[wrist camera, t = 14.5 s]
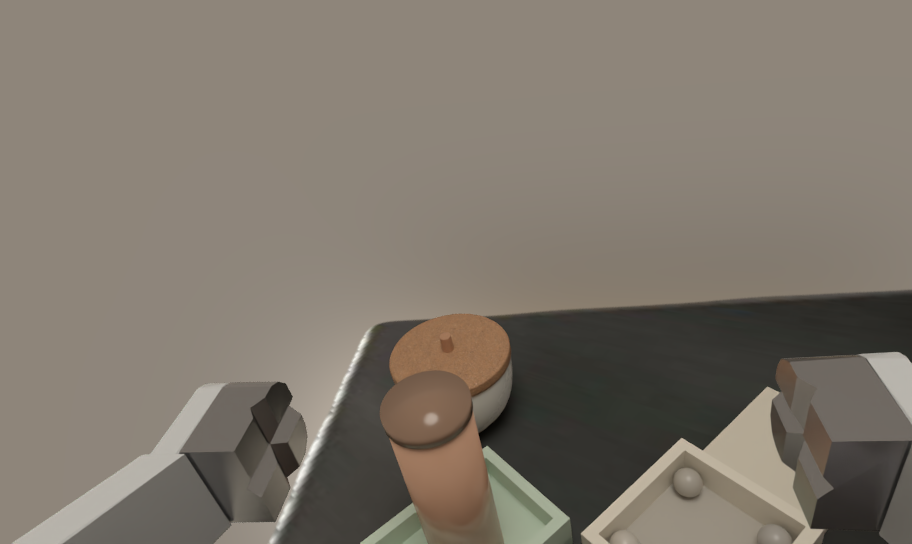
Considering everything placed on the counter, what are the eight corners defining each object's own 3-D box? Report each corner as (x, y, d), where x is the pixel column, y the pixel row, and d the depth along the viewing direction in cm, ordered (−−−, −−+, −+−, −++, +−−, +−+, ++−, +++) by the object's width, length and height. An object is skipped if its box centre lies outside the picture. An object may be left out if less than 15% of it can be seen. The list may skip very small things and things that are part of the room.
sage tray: (492, 469, 47) (486, 445, 45) (573, 543, 40) (569, 518, 39) (370, 566, 42) (359, 543, 40) (440, 669, 35) (430, 646, 33)
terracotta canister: (474, 501, 43) (435, 358, 36) (521, 549, 39) (489, 400, 32) (417, 546, 41) (363, 404, 33) (461, 603, 37) (411, 456, 29)
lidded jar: (533, 379, 55) (521, 302, 50) (502, 469, 47) (484, 388, 42) (434, 367, 59) (414, 295, 54) (389, 448, 51) (361, 371, 46)
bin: (760, 389, 49) (765, 358, 47) (895, 454, 41) (906, 421, 39) (584, 563, 39) (580, 533, 37) (719, 689, 32) (723, 660, 30)
